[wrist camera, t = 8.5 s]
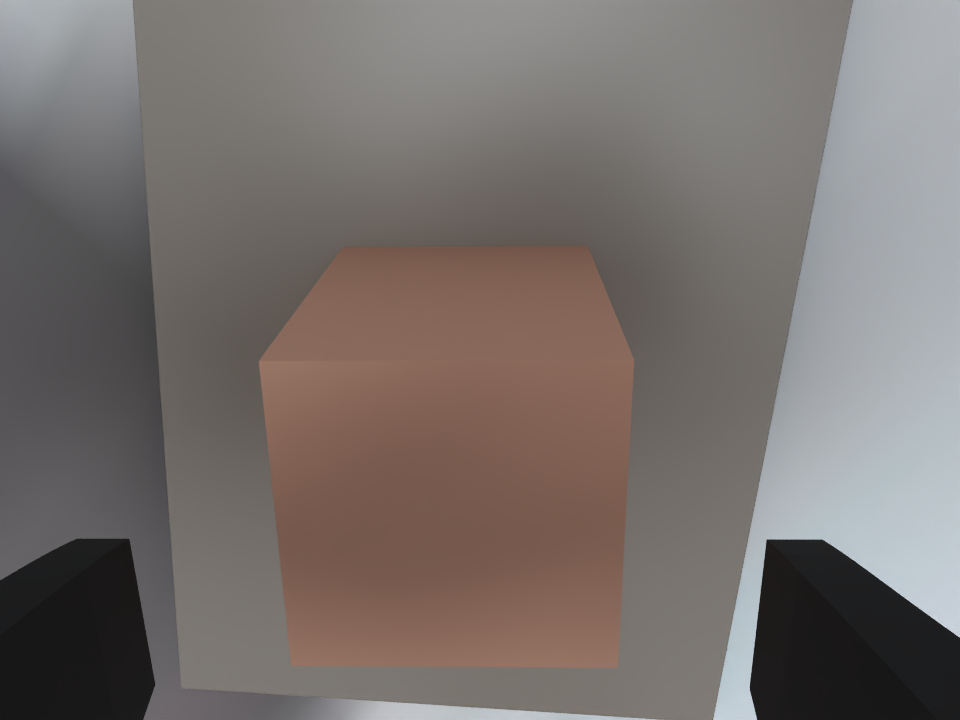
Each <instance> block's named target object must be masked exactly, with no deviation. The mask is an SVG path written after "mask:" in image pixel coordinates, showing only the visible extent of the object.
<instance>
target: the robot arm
mask: <svg viewBox="0 0 960 720" xmlns="http://www.w3.org/2000/svg"><path fill="white" fill-rule="evenodd" d="M154 687H155V681H154V675H153V670H152V664H151V658H150V653H149V647H148V642H147V636H146V630H145V625H144V619H143V613H142V608H141V602H140V597H139V591H138V585H137V580H136V574H135V569H134V563H133V557H132V552H131V546H130V541H129V539H75V540H73V541H71V542H69V543H67V544H65V545H63V546H61V547H59V548H57V549H55V550H53V551H51V552H49V553H47V554H45V555H44V556H42V557H40V558H38V559H36V560H35V561H33V562H31V563H29V564H28V565H26V566H24V567H22V568H21V569H19V570H17V571H16V572H14V573H12V574H10V575H9V576H7V577H5V578H4V579H2V580H0V720H143V718H144V715H145V713H146V710H147V707H148V704H149V701H150V698H151V695H152V692H153V689H154ZM750 692H751V696H752V700H753V704H754V708H755V712H756V716H757V720H960V638H959V637H958V636H956V635H955V634H954V633H952V632H951V631H949V630H948V629H947V628H945V627H944V626H942V625H941V624H940V623H938V622H937V621H935V620H934V619H933V618H931V617H930V616H929V615H927V614H926V613H924V612H923V611H922V610H920V609H919V608H917V607H916V606H915V605H913V604H912V603H911V602H909V601H908V600H907V599H905V598H904V597H902V596H901V595H900V594H898V593H897V592H896V591H894V590H893V589H892V588H890V587H889V586H888V585H886V584H885V583H883V582H882V581H881V580H879V579H878V578H877V577H875V576H874V575H873V574H871V573H870V572H868V571H867V570H866V569H864V568H863V567H862V566H860V565H859V564H857V563H856V562H855V561H853V560H852V559H850V558H849V557H848V556H846V555H845V554H843V553H842V552H840V551H839V550H838V549H836V548H835V547H833V546H831V545H830V544H828V543H827V542H825V541H824V540H767V542H766V551H765V559H764V568H763V577H762V586H761V594H760V603H759V612H758V620H757V629H756V638H755V646H754V655H753V664H752V673H751V681H750Z"/></svg>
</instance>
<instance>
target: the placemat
mask: <svg viewBox="0 0 960 720" xmlns="http://www.w3.org/2000/svg"><path fill="white" fill-rule="evenodd" d="M852 3H853V0H133V10H134V24H135V39H136V53H137V67H138V81H139V95H140V110H141V124H142V138H143V152H144V166H145V180H146V195H147V209H148V223H149V237H150V251H151V265H152V280H153V294H154V308H155V322H156V336H157V350H158V365H159V379H160V393H161V407H162V421H163V435H164V450H165V464H166V478H167V492H168V506H169V520H170V535H171V549H172V563H173V577H174V591H175V605H176V620H177V634H178V648H179V662H180V676H181V688H188V689H203V690H218V691H234V692H249V693H264V694H280V695H295V696H310V697H325V698H341V699H356V700H371V701H386V702H402V703H417V704H432V705H447V706H463V707H478V708H493V709H509V710H524V711H539V712H554V713H570V714H585V715H600V716H615V717H631V718H646V719H661V720H713V717H714V712H715V707H716V702H717V696H718V691H719V686H720V681H721V676H722V671H723V666H724V660H725V655H726V650H727V645H728V640H729V635H730V630H731V624H732V619H733V614H734V609H735V604H736V599H737V594H738V588H739V583H740V578H741V573H742V568H743V563H744V558H745V552H746V547H747V542H748V537H749V532H750V527H751V522H752V517H753V511H754V506H755V501H756V496H757V491H758V486H759V481H760V475H761V470H762V465H763V460H764V455H765V450H766V445H767V439H768V434H769V429H770V424H771V419H772V414H773V409H774V403H775V398H776V393H777V388H778V383H779V378H780V373H781V367H782V362H783V357H784V352H785V347H786V342H787V337H788V332H789V326H790V321H791V316H792V311H793V306H794V301H795V296H796V290H797V285H798V280H799V275H800V270H801V265H802V260H803V254H804V249H805V244H806V239H807V234H808V229H809V224H810V218H811V213H812V208H813V203H814V198H815V193H816V188H817V182H818V177H819V172H820V167H821V162H822V157H823V152H824V147H825V141H826V136H827V131H828V126H829V121H830V116H831V111H832V105H833V100H834V95H835V90H836V85H837V80H838V75H839V69H840V64H841V59H842V54H843V49H844V44H845V39H846V33H847V28H848V23H849V18H850V13H851V8H852ZM450 246H588V248H589V250H590V253H591V255H592V258H593V260H594V263H595V265H596V267H597V270H598V272H599V275H600V277H601V280H602V282H603V285H604V287H605V290H606V292H607V294H608V297H609V299H610V302H611V304H612V307H613V309H614V312H615V314H616V316H617V319H618V321H619V324H620V326H621V329H622V331H623V334H624V336H625V339H626V341H627V343H628V346H629V348H630V351H631V353H632V356H633V358H634V372H633V391H632V410H631V429H630V448H629V467H628V486H627V505H626V524H625V543H624V562H623V581H622V600H621V619H620V638H619V657H618V668H544V667H362V666H291V661H290V651H289V642H288V632H287V623H286V613H285V604H284V595H283V585H282V576H281V566H280V557H279V547H278V538H277V529H276V519H275V510H274V500H273V491H272V481H271V472H270V463H269V453H268V444H267V434H266V425H265V415H264V406H263V396H262V387H261V378H260V368H259V360H260V359H261V357H262V356H263V355H264V353H265V352H266V350H267V349H268V348H269V346H270V345H271V344H272V342H273V341H274V340H275V338H276V337H277V336H278V334H279V333H280V331H281V330H282V329H283V327H284V326H285V325H286V323H287V322H288V321H289V319H290V318H291V317H292V315H293V314H294V313H295V311H296V310H297V308H298V307H299V306H300V304H301V303H302V302H303V300H304V299H305V298H306V296H307V295H308V294H309V292H310V291H311V289H312V288H313V287H314V285H315V284H316V283H317V281H318V280H319V279H320V277H321V276H322V275H323V273H324V272H325V271H326V269H327V268H328V266H329V265H330V264H331V262H332V261H333V260H334V258H335V257H336V256H337V254H338V253H339V252H340V250H341V249H342V248H343V247H450Z"/></svg>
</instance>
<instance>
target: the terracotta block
mask: <svg viewBox="0 0 960 720" xmlns="http://www.w3.org/2000/svg"><path fill="white" fill-rule="evenodd" d="M259 368H260V378H261V387H262V396H263V406H264V415H265V425H266V434H267V444H268V453H269V463H270V472H271V481H272V491H273V500H274V510H275V519H276V529H277V538H278V547H279V557H280V566H281V576H282V585H283V595H284V604H285V613H286V623H287V632H288V642H289V651H290V661H291V666H362V667H544V668H618V657H619V638H620V619H621V600H622V581H623V562H624V543H625V524H626V505H627V486H628V467H629V448H630V429H631V410H632V391H633V372H634V358H633V356H632V353H631V351H630V348H629V346H628V343H627V341H626V339H625V336H624V334H623V331H622V329H621V326H620V324H619V321H618V319H617V316H616V314H615V312H614V309H613V307H612V304H611V302H610V299H609V297H608V294H607V292H606V290H605V287H604V285H603V282H602V280H601V277H600V275H599V272H598V270H597V267H596V265H595V263H594V260H593V258H592V255H591V253H590V250H589V248H588V246H450V247H343V248H342V249H341V250H340V252H339V253H338V254H337V256H336V257H335V258H334V260H333V261H332V262H331V264H330V265H329V266H328V268H327V269H326V271H325V272H324V273H323V275H322V276H321V277H320V279H319V280H318V281H317V283H316V284H315V285H314V287H313V288H312V289H311V291H310V292H309V294H308V295H307V296H306V298H305V299H304V300H303V302H302V303H301V304H300V306H299V307H298V308H297V310H296V311H295V313H294V314H293V315H292V317H291V318H290V319H289V321H288V322H287V323H286V325H285V326H284V327H283V329H282V330H281V331H280V333H279V334H278V336H277V337H276V338H275V340H274V341H273V342H272V344H271V345H270V346H269V348H268V349H267V350H266V352H265V353H264V355H263V356H262V357H261V359H260V360H259Z"/></svg>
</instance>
